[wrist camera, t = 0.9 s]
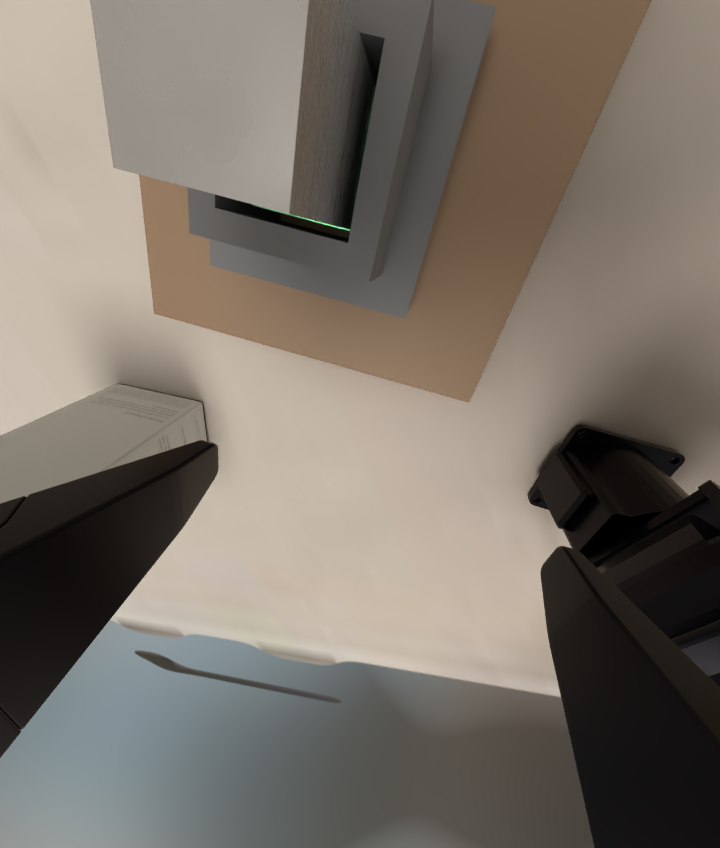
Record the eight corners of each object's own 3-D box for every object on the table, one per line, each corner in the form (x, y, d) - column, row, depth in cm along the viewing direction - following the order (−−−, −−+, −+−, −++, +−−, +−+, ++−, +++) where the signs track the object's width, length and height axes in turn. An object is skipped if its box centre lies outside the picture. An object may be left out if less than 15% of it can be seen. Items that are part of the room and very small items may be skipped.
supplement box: (115, 380, 24) (-138, 487, 13) (205, 400, 24) (18, 530, 13) (135, 457, 28) (-51, 591, 17) (213, 477, 27) (74, 627, 16)
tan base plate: (675, -76, 11) (997, -494, 5) (466, 394, 20) (484, 458, 14) (124, -192, 12) (-205, -676, 6) (167, 310, 21) (61, 335, 15)
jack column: (388, 123, 13) (321, -109, 5) (366, 235, 15) (291, 217, 7) (295, 100, 13) (64, -165, 5) (285, 213, 16) (111, 169, 7)
